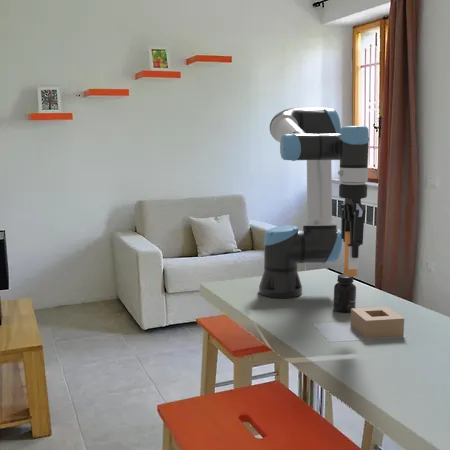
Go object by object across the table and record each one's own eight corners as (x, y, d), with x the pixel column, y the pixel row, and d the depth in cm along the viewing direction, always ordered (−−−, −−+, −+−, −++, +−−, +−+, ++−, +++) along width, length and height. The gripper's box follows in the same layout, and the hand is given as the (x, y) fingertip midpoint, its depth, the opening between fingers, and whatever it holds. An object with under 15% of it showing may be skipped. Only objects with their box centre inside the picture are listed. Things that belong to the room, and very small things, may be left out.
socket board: (312, 327, 172) (312, 307, 171) (383, 323, 176) (384, 303, 175) (329, 345, 158) (329, 324, 157) (406, 340, 161) (407, 319, 160)
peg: (342, 273, 166) (343, 231, 165) (354, 272, 167) (355, 231, 165) (346, 276, 163) (347, 233, 161) (359, 275, 163) (360, 233, 162)
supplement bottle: (355, 316, 182) (356, 278, 180) (333, 315, 183) (334, 277, 181) (355, 310, 188) (356, 273, 186) (333, 308, 190) (334, 272, 188)
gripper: (330, 181, 169) (329, 261, 172) (349, 186, 153) (347, 274, 156) (356, 180, 170) (354, 260, 173) (377, 185, 154) (374, 273, 157)
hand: (350, 267), depth 165 cm, fingers closed on peg, 3 cm apart
